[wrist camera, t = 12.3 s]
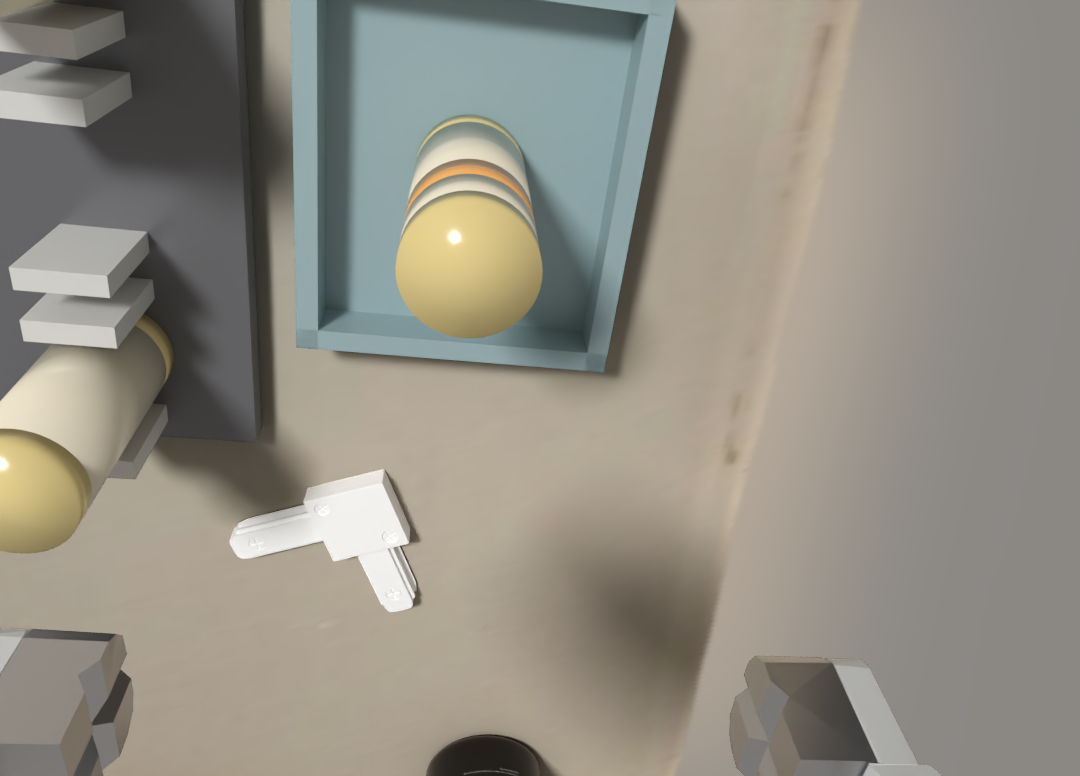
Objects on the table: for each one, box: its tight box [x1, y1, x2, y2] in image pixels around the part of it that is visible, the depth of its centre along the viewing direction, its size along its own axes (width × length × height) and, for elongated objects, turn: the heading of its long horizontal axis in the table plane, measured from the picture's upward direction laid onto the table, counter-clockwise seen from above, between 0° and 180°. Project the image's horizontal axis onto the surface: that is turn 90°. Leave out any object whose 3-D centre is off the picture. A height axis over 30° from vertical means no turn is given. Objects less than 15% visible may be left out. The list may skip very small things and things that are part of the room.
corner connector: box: [230, 469, 417, 612], centre depth 41 cm, size 8×8×2 cm
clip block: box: [0, 0, 262, 479], centre depth 28 cm, size 23×10×5 cm, turn 173°
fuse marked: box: [395, 115, 543, 338], centre depth 27 cm, size 4×4×10 cm
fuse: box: [0, 314, 174, 553], centre depth 29 cm, size 4×4×10 cm
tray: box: [290, 0, 676, 372], centre depth 31 cm, size 14×12×2 cm
